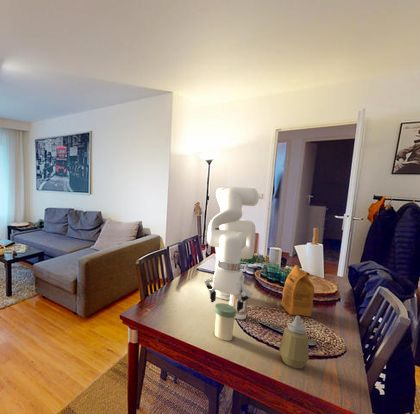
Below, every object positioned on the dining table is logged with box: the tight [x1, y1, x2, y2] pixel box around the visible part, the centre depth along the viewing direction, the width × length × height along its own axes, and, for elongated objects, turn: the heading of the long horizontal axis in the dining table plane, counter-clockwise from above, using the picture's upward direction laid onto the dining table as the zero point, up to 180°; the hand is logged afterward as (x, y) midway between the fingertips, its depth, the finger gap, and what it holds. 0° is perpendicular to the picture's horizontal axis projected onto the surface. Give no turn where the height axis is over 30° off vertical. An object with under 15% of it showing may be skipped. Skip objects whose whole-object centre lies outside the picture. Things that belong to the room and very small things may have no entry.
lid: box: [214, 302, 236, 319], centre depth 113 cm, size 8×8×2 cm
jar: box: [214, 312, 235, 341], centre depth 113 cm, size 6×6×12 cm
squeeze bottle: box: [278, 315, 310, 369], centre depth 97 cm, size 8×8×18 cm
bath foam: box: [228, 275, 249, 320], centre depth 128 cm, size 7×7×20 cm
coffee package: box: [281, 264, 315, 317], centre depth 132 cm, size 10×12×22 cm
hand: (225, 305), depth 112 cm, fingers open, 9 cm apart
